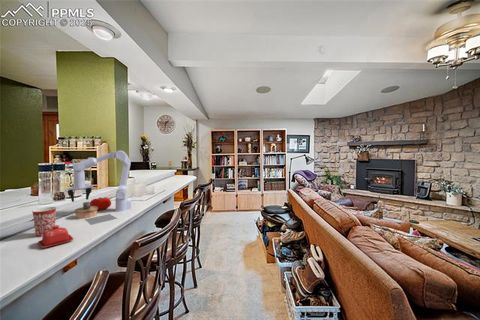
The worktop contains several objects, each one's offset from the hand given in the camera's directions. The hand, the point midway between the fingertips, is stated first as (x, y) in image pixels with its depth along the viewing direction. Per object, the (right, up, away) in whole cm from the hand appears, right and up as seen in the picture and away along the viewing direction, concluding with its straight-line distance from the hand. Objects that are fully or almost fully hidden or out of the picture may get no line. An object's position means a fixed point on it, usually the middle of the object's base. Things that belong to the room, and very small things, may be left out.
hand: (80, 200), depth 135 cm
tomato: (+3, -10, +16) cm, 19 cm away
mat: (+19, -11, -7) cm, 23 cm away
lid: (+6, -7, -2) cm, 9 cm away
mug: (+4, -12, -27) cm, 30 cm away
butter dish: (+19, -13, -38) cm, 45 cm away
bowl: (+6, -11, -2) cm, 12 cm away
